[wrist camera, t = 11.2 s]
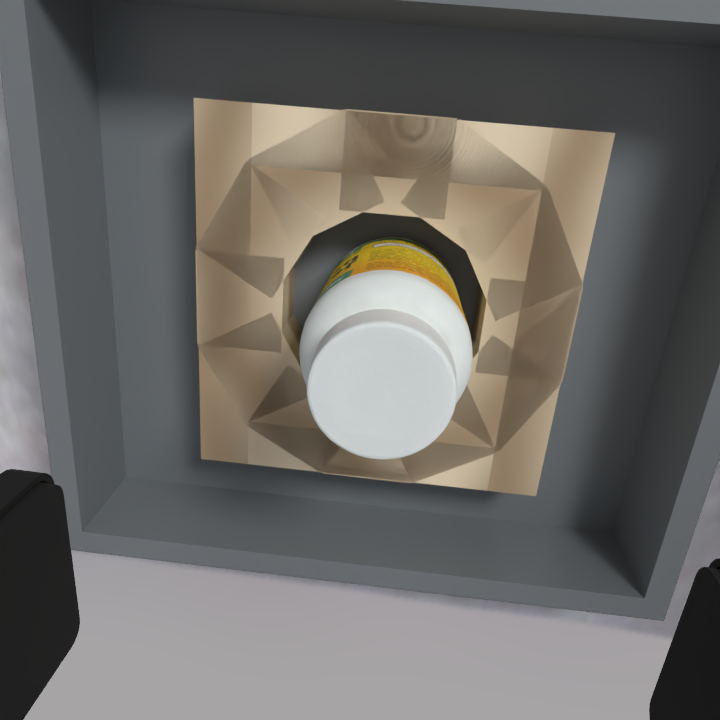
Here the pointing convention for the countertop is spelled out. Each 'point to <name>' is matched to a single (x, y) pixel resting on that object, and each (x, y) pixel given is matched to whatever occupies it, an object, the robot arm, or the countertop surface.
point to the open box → (358, 92)
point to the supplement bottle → (386, 350)
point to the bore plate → (404, 198)
